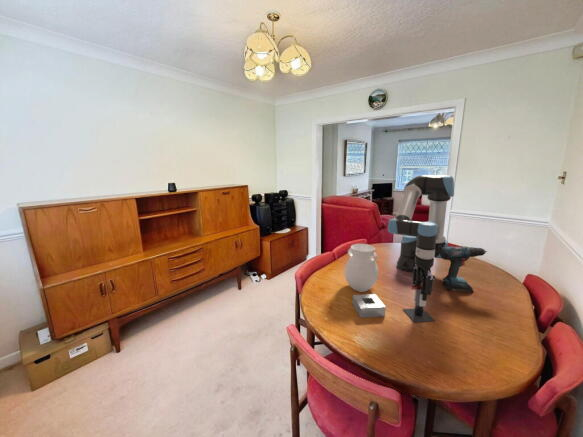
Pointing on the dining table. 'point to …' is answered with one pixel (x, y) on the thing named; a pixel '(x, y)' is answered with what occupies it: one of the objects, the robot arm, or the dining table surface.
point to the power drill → (457, 260)
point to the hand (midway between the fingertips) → (419, 303)
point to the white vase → (361, 267)
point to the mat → (417, 318)
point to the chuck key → (418, 299)
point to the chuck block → (368, 305)
